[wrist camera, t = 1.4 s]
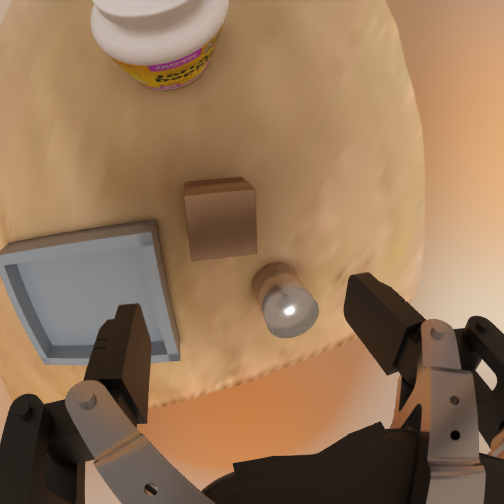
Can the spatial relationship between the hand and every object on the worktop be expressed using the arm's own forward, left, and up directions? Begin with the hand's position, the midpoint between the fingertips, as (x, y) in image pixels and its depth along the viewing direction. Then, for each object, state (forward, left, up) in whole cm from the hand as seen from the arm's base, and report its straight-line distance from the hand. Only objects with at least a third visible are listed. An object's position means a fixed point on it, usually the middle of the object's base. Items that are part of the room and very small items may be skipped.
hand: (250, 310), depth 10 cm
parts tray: (+7, -13, -14) cm, 20 cm away
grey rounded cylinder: (+8, +5, -14) cm, 17 cm away
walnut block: (0, 0, -14) cm, 14 cm away
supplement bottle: (-13, -3, -14) cm, 19 cm away
